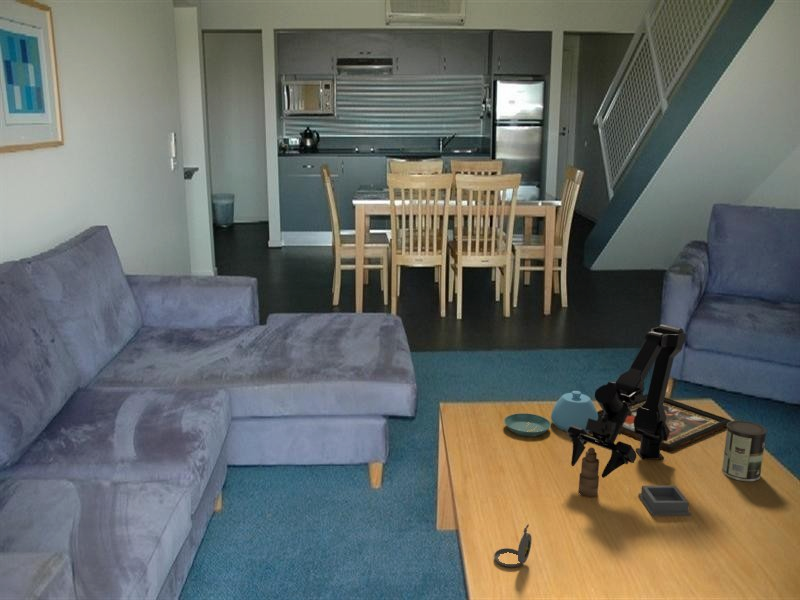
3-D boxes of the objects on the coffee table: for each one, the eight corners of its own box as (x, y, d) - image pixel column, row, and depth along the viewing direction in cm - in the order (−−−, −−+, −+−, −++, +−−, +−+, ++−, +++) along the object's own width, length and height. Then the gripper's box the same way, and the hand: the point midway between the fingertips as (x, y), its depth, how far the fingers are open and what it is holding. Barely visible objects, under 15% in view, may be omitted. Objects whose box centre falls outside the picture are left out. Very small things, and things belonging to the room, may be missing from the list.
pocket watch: (491, 552, 178) (493, 513, 176) (527, 551, 179) (529, 512, 177) (498, 573, 171) (501, 532, 168) (536, 572, 171) (539, 531, 169)
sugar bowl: (549, 415, 259) (551, 382, 256) (595, 418, 257) (597, 385, 254) (551, 433, 245) (554, 398, 242) (600, 436, 243) (603, 402, 240)
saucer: (495, 431, 246) (496, 423, 245) (516, 417, 257) (516, 409, 257) (538, 443, 237) (538, 435, 237) (557, 427, 249) (558, 420, 249)
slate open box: (638, 496, 206) (639, 484, 205) (675, 495, 206) (676, 484, 205) (651, 515, 196) (652, 503, 195) (690, 515, 196) (691, 503, 196)
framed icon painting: (639, 394, 280) (639, 387, 279) (736, 424, 256) (737, 416, 255) (581, 424, 254) (581, 416, 253) (682, 460, 230) (683, 451, 229)
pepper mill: (576, 488, 209) (579, 443, 206) (594, 488, 210) (598, 443, 206) (581, 497, 204) (584, 451, 201) (599, 497, 205) (603, 451, 201)
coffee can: (755, 467, 224) (762, 421, 220) (764, 483, 214) (771, 436, 210) (717, 463, 226) (723, 418, 222) (725, 479, 216) (731, 432, 212)
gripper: (572, 397, 210) (546, 446, 206) (635, 417, 198) (609, 469, 193) (586, 416, 218) (561, 464, 213) (647, 436, 205) (622, 488, 200)
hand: (587, 471), depth 204 cm, fingers open, 9 cm apart
